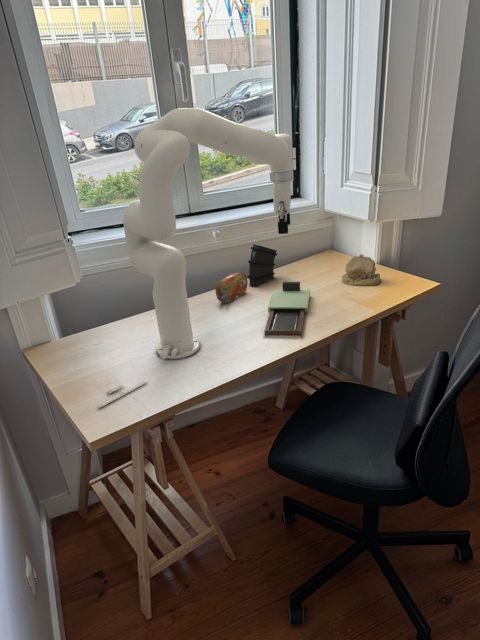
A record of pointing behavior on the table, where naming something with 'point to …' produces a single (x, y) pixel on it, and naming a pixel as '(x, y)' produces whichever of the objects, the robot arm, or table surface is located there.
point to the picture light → (115, 388)
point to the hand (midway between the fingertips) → (284, 229)
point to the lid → (289, 297)
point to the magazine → (261, 264)
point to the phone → (285, 321)
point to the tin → (231, 287)
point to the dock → (284, 332)
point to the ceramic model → (361, 271)
